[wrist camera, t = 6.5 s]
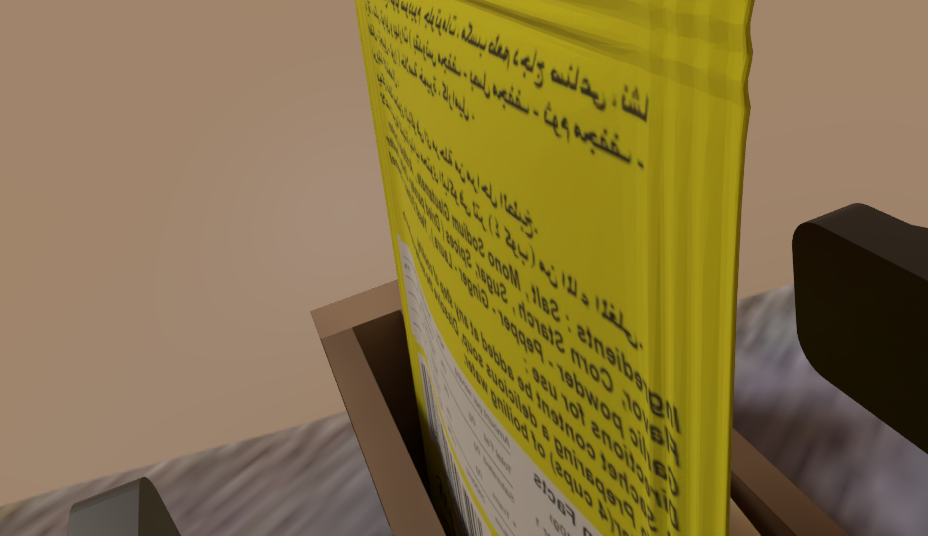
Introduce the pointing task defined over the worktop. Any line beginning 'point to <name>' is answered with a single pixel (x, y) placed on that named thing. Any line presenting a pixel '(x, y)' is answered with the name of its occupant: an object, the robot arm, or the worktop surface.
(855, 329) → the robot arm
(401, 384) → the walnut rack
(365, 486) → the worktop surface
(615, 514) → the food package
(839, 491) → the worktop surface
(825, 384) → the worktop surface
